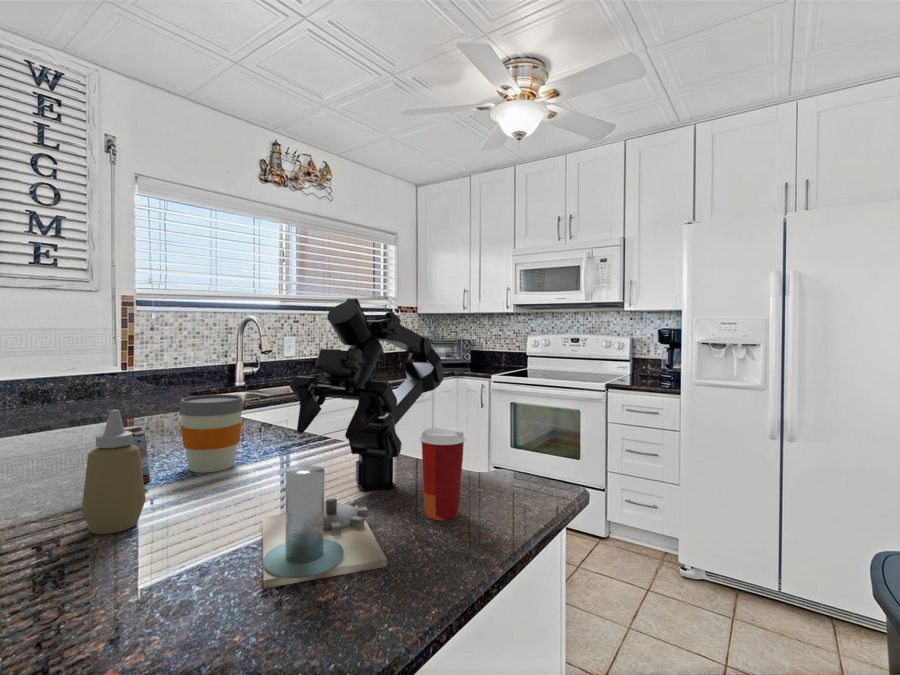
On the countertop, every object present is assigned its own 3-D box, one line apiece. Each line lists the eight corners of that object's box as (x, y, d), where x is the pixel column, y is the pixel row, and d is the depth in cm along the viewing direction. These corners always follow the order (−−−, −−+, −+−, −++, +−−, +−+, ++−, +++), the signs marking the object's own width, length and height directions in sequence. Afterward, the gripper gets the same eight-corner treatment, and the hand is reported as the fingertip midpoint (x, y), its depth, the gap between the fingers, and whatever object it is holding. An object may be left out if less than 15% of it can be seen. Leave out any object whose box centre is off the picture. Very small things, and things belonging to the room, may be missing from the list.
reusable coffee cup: (254, 464, 107) (255, 397, 106) (200, 479, 96) (200, 405, 96) (222, 455, 114) (222, 392, 113) (167, 468, 103) (167, 399, 103)
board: (359, 509, 82) (360, 484, 82) (393, 569, 62) (393, 537, 62) (262, 521, 76) (262, 495, 76) (263, 592, 56) (264, 557, 56)
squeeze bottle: (103, 517, 77) (103, 405, 76) (156, 516, 77) (156, 406, 77) (67, 539, 69) (67, 415, 68) (126, 538, 69) (126, 415, 69)
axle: (314, 543, 66) (315, 463, 65) (329, 556, 62) (330, 472, 62) (279, 553, 63) (280, 469, 62) (293, 567, 59) (294, 479, 59)
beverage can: (130, 498, 85) (130, 431, 85) (96, 494, 87) (96, 429, 86) (158, 486, 91) (159, 424, 91) (126, 483, 93) (126, 422, 92)
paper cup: (469, 509, 83) (471, 428, 82) (456, 526, 75) (457, 438, 75) (428, 502, 85) (429, 425, 85) (410, 519, 78) (411, 433, 78)
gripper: (297, 331, 85) (251, 401, 75) (390, 333, 79) (354, 410, 69) (322, 371, 93) (284, 440, 83) (409, 376, 86) (379, 451, 76)
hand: (322, 435), depth 77 cm, fingers open, 9 cm apart
